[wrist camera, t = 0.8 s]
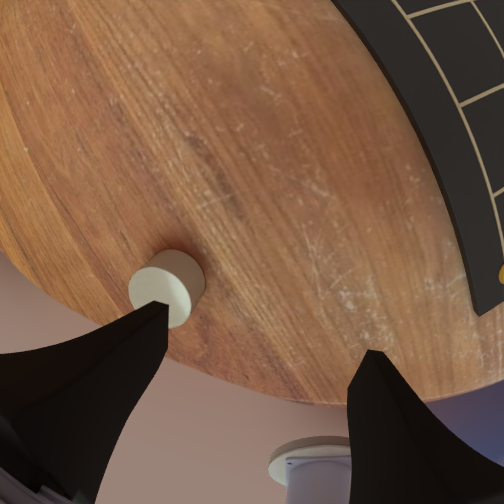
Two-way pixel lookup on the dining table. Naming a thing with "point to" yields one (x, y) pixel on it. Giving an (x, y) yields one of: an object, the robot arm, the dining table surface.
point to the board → (451, 112)
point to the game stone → (169, 284)
